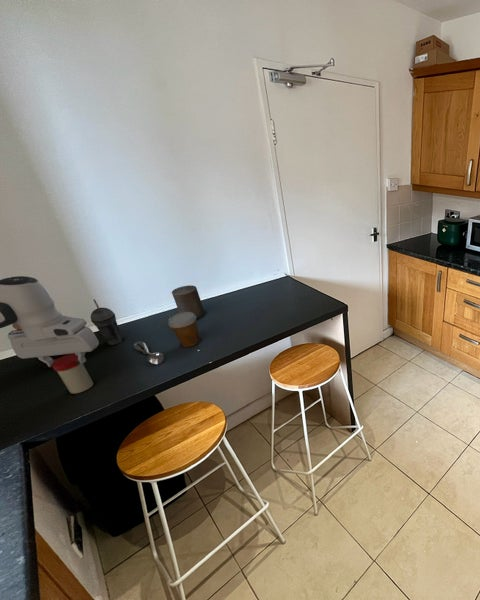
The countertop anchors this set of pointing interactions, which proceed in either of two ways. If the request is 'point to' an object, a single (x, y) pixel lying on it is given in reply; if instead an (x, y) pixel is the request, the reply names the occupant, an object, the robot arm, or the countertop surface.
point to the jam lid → (65, 362)
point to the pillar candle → (188, 300)
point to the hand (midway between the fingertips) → (68, 363)
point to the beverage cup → (106, 324)
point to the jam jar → (76, 379)
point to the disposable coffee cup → (185, 328)
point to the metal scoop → (152, 357)
